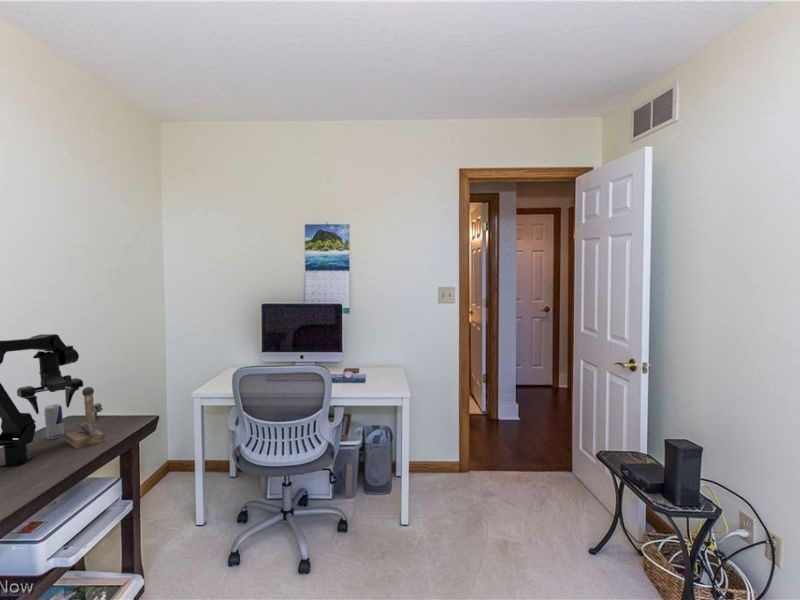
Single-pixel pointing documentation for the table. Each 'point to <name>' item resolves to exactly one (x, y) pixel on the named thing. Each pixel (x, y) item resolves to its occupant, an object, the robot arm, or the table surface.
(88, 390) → the lever
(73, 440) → the press bench
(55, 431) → the energy drink
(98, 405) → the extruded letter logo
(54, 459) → the table surface
